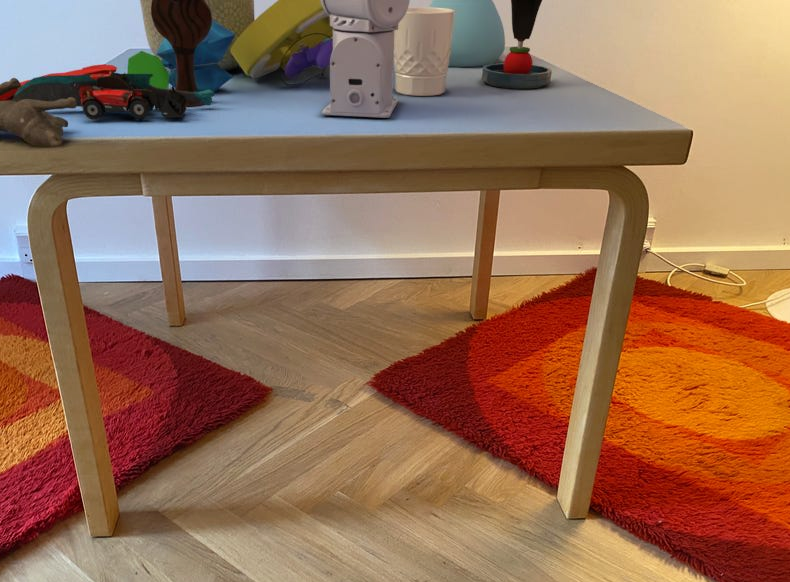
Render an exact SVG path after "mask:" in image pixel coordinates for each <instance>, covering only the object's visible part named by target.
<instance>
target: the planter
mask: <svg viewBox="0 0 790 582" xmlns="http://www.w3.org/2000/svg"><path fill="white" fill-rule="evenodd" d="M204 1H205V2H206V3H207V5H208V7H209V9H210V11H211V16H212V20H213V21H215V22H217V23H218V24H220V25H221V26H223V27H224V28H226V29H228V30H229V31H231V32H232V33H234V34H236V35H235V37H234V39H233V40H232V42H231V44H230V45H229V47H228V49H227V51H226V52H225V54H224V56H223V57H222V59H221V61H220V62H218V63H216V64H217V65H219V66H220V67H221V68H223V69H224V70H225V71H227V72H228V71H232V70H235V69H238V68H239V67H241V66H240V65H239V64H238V62H237V61H236V59H235V58H234V56H233V55H232V54H231V48H232V46H233V44H234V43H235V41H236V40H237V38H238V37H239V36H240V35H241V34H242V33H243V31H244V30H245V29H246V28H247V27H248V26H249V25H250V24H251V23H252V22H253V21H254V20H255V19H256V18H255V0H204ZM139 2H140V8H141V14H142V21H143V27H144V32H145V36H146V41H147V44H148V47H149V49H150V51H151V53H152V55H154V56H156V57H159V56H158V55H156V53H157V51H158V49H159V47H160V45H161V43H162V41H163V39H164V37H163V36H162V35H161V34H160V33H159V32H158V31H157V29H156V28H155V26H154V23H153V20H152V15H151V4H152V0H139ZM159 59H160V60H162V58H161V57H159ZM210 64H215V63H210ZM202 65H206V64H202ZM195 66H196V65H195ZM175 69H176V68H175ZM175 69H171V70H172V71H173V70H175Z"/></svg>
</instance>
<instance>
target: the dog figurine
mask: <svg viewBox="0 0 790 582" xmlns="http://www.w3.org/2000/svg"><path fill="white" fill-rule="evenodd" d="M20 82H21V81H20V80H18V79H17V78H16V77H11V78H10V79H9V81H4V82H1V83H0V96H1V95H3V94H5V93H6V92H9V91H11V90H13V89H17V88H20V87H21V84H20ZM77 107H78V106H77V101H76V99H74V98H71V97H69V98H67V99H59V100H57V101H40V100H34V99H24V100H20V101H19V102H16V101H1V102H0V132H9V133H11V134H13V135H15V136H18V137H20V138H22V139H23V141H24V142H26V143H28V144H29V145H30V146H32V147H34V148H56V147H61V146H62V144H63V143H64V138H63V135H64V128H68V127H69V122H68V120H67V119H65V118H63V117H60V116H54V115H52V114H49V113H48V112H47V111H52V110H64V109H73V110H74V109H76V108H77Z"/></svg>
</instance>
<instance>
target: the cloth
mask: <svg viewBox="0 0 790 582" xmlns="http://www.w3.org/2000/svg"><path fill="white" fill-rule="evenodd" d="M117 70H118V67H117V66H115V65H113V64H94V65H93V64H92V65H89V66H85V67H82V68H80V69H74V70H70V71H66V72H65V71H64V72H55V73H47V74H43V75H41V76H39V77H42V76H55V75H90V74H110V73H109V72H111V73H117ZM30 80H31V79H27V80H23V81H19V82H20V84H21V86H22V85H24V84H25V83H26V82H28V81H30ZM18 89H19V88H17V89H13V90H11V91H9V92H6V93H5V94H3V95H1V96H0V102H1V101H12V99H13V98H14V95H15V93H16V92H17V90H18Z"/></svg>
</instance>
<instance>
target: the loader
mask: <svg viewBox="0 0 790 582" xmlns="http://www.w3.org/2000/svg"><path fill="white" fill-rule="evenodd" d="M109 73H110V74H92V75H91V76H90V78H92V79H94V80H97V87H95V86H92V87H84V88H83V87H81V86H80V87H81V88H79V87H77V88H79V94H80V97H81V103H82V105H81V104H80V106H79V107H80V108H81V109H82V112H83V114H84V116H85V117H86V118H88V119H89V120H93V121H94V120H96V121H98V120H99V119H101V118H102V117H103V116H104V113H128V111H129V113H130V115H131V116H132V118H135V119H138V120H144V119H146V118H147V117H148V116H149V114H150V112H152V111H153V110H154V109H155V111H158V113H159V112H160V114H161V115H162V117H163V118H165V119H170V118H183V116H184V114H185V113H186V111H187V107H185V104H186V99H185V97H184V96H183V95H182V94H180V93H179V92H176V91H175V88H174V87H173V86H172V85H171V89H170V93H167V97H166V96H165V100H164V102H163V103H162V105H160V103H159V100H158V98H157V96H156V94H155V92H154V91H153V90H148V89H139V87H137V89H134V87H133V85H132V83H130V82H131V81H130V80H129V81H130V82H129V81H128V80H127V79H128V78H126V77H124V76H127V75H128V76H129V75H132V78H133V77H134V76H133V74H127V73H126V72H123V73H118V72H114V73H111V72H109ZM73 85H74V86H75V85H76V83H75V84H73ZM78 86H79V85H78Z"/></svg>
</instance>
